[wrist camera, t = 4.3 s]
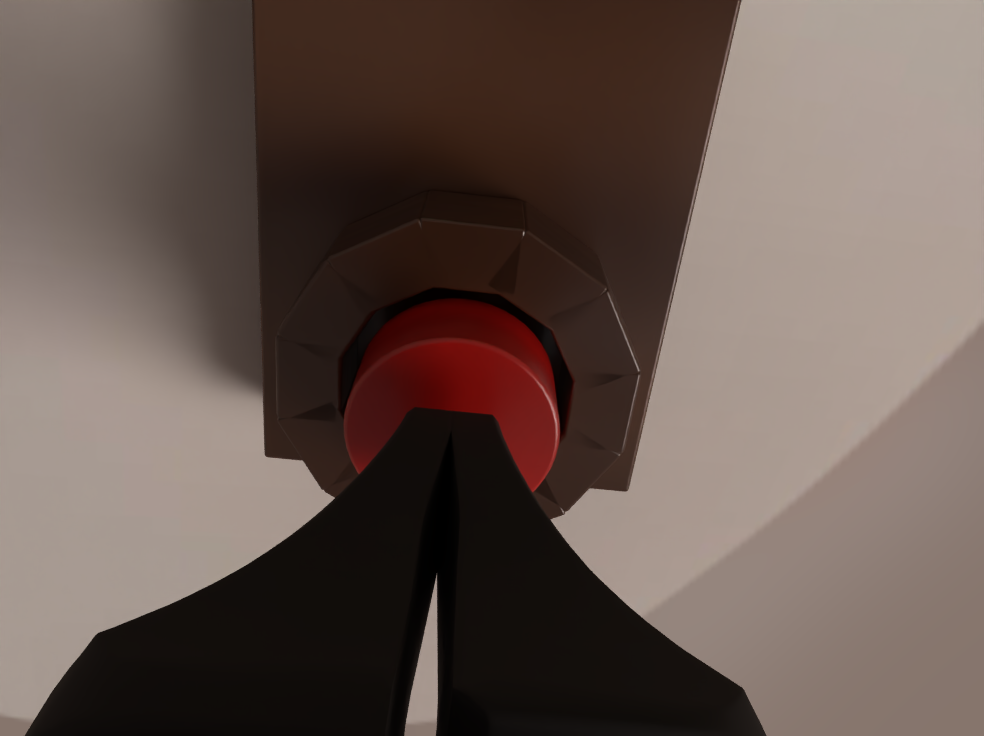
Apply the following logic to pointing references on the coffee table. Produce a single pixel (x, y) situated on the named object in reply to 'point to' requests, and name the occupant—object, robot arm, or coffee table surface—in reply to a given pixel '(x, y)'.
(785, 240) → the coffee table surface
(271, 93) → the switch box
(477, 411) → the light button
